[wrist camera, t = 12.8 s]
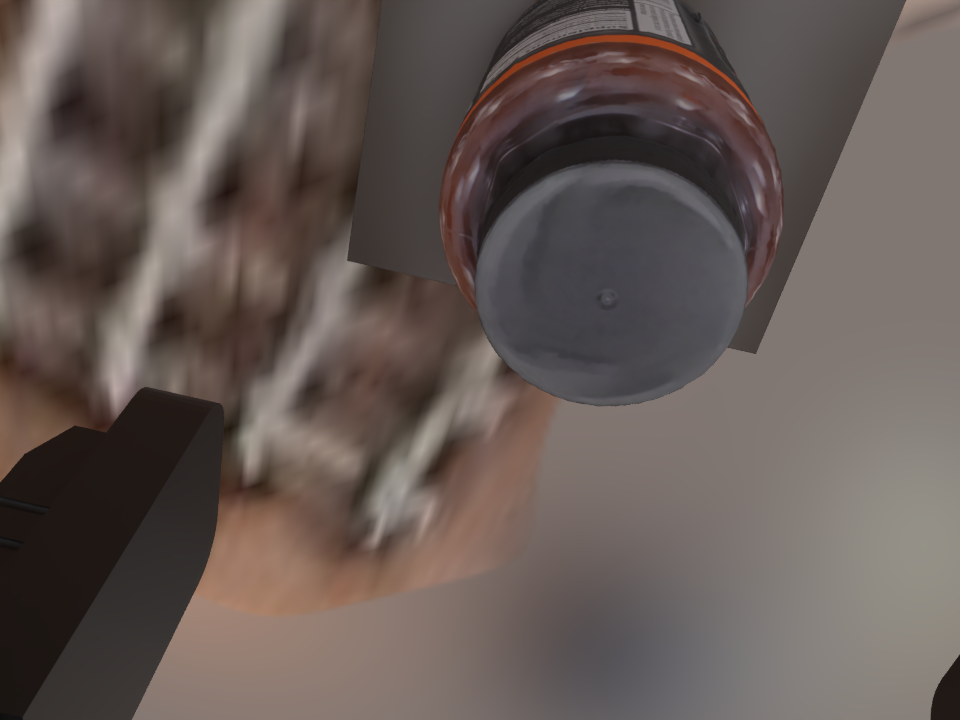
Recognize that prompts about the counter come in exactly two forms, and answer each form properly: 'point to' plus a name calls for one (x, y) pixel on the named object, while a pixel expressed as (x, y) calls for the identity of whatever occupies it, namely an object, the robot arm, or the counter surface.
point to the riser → (468, 52)
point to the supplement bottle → (610, 199)
